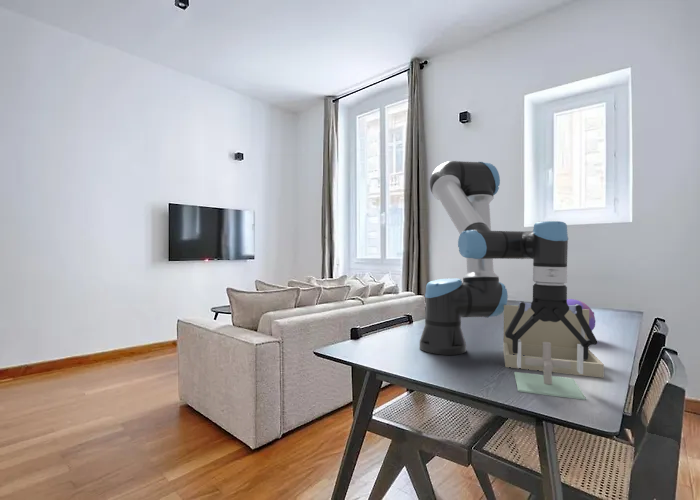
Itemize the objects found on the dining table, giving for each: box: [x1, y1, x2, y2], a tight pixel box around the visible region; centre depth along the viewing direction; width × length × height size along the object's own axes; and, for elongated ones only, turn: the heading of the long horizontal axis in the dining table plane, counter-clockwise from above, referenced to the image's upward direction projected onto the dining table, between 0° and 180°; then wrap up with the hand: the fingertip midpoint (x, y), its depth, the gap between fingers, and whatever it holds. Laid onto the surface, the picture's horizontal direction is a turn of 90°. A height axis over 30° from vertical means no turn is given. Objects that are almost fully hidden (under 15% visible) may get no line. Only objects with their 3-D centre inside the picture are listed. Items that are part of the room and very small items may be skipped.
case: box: [502, 304, 605, 379], centre depth 113 cm, size 24×17×16 cm
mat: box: [513, 371, 587, 401], centre depth 95 cm, size 14×14×1 cm
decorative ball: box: [567, 298, 596, 332], centre depth 145 cm, size 15×15×15 cm
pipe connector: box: [525, 342, 571, 384], centre depth 95 cm, size 10×10×10 cm
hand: (548, 369), depth 95 cm, fingers open, 13 cm apart
